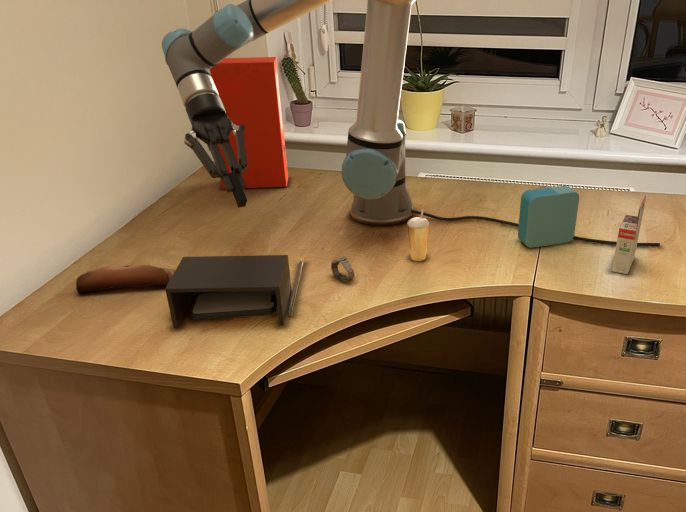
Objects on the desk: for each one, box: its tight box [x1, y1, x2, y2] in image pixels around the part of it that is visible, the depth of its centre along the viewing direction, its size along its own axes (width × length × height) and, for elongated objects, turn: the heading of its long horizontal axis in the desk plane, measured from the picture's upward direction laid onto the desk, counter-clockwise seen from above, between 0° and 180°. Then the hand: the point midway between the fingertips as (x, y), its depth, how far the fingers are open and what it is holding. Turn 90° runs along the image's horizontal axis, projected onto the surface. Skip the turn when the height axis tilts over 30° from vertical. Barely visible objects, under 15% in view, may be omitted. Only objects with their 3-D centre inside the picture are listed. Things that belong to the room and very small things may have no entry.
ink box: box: [610, 194, 647, 275], centre depth 145 cm, size 4×8×15 cm, turn 156°
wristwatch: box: [330, 255, 356, 283], centre depth 143 cm, size 4×6×5 cm, turn 41°
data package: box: [517, 185, 580, 249], centre depth 156 cm, size 12×4×12 cm, turn 107°
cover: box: [164, 254, 293, 328], centre depth 132 cm, size 20×13×8 cm, turn 91°
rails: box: [287, 260, 305, 318], centre depth 141 cm, size 22×23×1 cm
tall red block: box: [210, 56, 289, 190], centre depth 185 cm, size 8×17×32 cm, turn 94°
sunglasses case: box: [75, 264, 175, 294], centre depth 143 cm, size 18×7×7 cm, turn 99°
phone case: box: [189, 291, 278, 321], centre depth 135 cm, size 9×2×16 cm
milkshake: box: [406, 209, 430, 262], centre depth 151 cm, size 5×5×10 cm
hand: (242, 203), depth 142 cm, fingers closed
